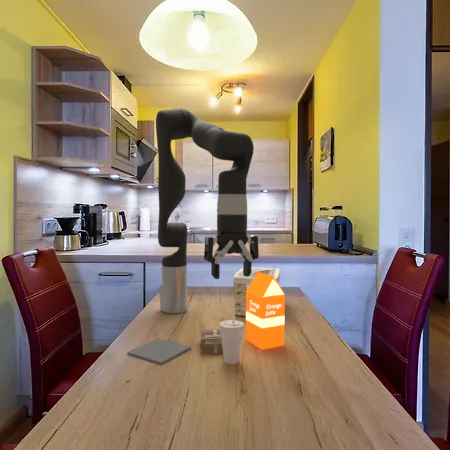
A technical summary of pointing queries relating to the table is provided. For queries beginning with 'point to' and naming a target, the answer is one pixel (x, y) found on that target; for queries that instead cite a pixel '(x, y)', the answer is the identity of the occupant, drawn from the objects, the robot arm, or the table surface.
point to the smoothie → (231, 339)
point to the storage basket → (243, 284)
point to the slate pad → (159, 351)
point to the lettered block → (211, 341)
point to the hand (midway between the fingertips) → (231, 277)
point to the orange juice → (265, 312)
